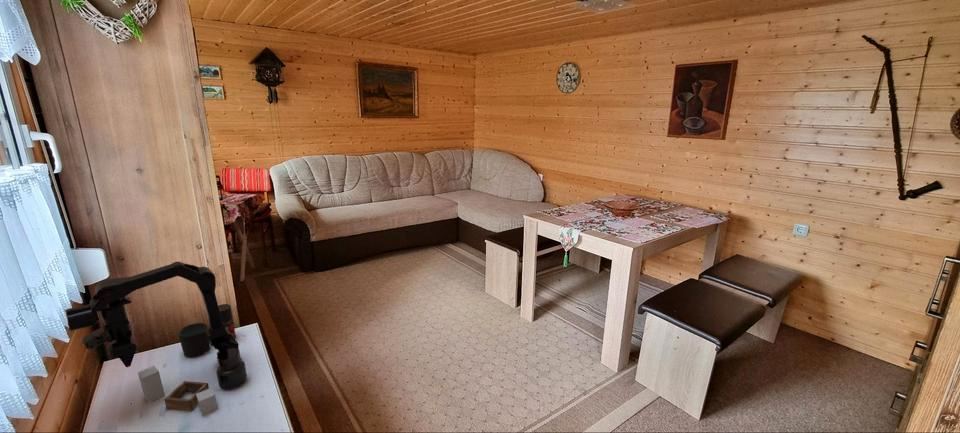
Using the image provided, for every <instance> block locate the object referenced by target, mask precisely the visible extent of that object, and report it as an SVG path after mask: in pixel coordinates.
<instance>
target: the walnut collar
mask: <svg viewBox="0 0 960 433" xmlns="http://www.w3.org/2000/svg"><path fill="white" fill-rule="evenodd" d="M209 388H210V386H209V383H208V382H200V381H190V380H189V381H188V380H183V382H181V384H179V385H178V386H177V387H176V388H175V389H174V390H172V392H170V393H169V394H168V395H167V396H166V397H164V398H163V401H164V404H165V409H166V410H174V411H175V410H176V411H185V412H192V411H193V410H194V409H195V408H196V407H198V401H197V397H196V394H197V393H200V392H202V391H204V390H207V389H209ZM187 393H192V395H191V396H190V397H189V398H183V397H184V396H185V395H186V394H187Z"/></svg>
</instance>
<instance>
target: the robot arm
mask: <svg viewBox="0 0 960 433" xmlns="http://www.w3.org/2000/svg"><path fill="white" fill-rule="evenodd" d="M176 277H179V278H183V279H185V280H186V281H189V282H191V283H194V284H196V286H197V288H198V291H200V293H201V296H202V301H203V304H204V307H205V311H206V315H207V318H208V324H209V329H208V330H205V331H206V333H207V339H208V341H209V343H210V347H213V348H214V349H215V350H217V351H218V352H216V356H217V355H218V354H219V353H220V352H222V351H224V350H226V349H230V348H236V349H238V350H239V351H240V349H239V346H240V344H239V342H238V341H237V339H235V338H234V336H233V335H232V334H229V333H227V331H226V329H225V327H224V326H223V323H222V319H221V315H220V311H219V307H218V306H219V305H218V300H217V296H216V287H217V283H216V282H217V281H216V280H217V279H216V276H215V274H214V273H213V271H212V270H211V269H210V268H209V267H207V266H200V267H199V266H197V265H194V264H189V263H183V262H182V261H175V262H171V264H167V265H164V266H160V267H158V268H154V269H150V270H148V271H144V272H141V273H139V274H135V275H132V276H127V277H115V278H110V279H109V278H107V279H105V280H104V279H103V280H102V281H100V282H99V283H97V284H96V285H95V287H94V288H95V289H94V292H95V293H94V295H93V296H92V297H91V298H90V300H89V304H86V305H82V306H78V307H77V306H76V307H71V308H67V309H65V314H66V317H67V326H68V328H69V331H70V332H74V331H79V330H81V329H85V328H88V327H92V326H96V324H98V321H101V320H100V315H101V318H102V321H103V322H102V327H99V328H97V329H95V330H94V331H92V332H90V333H88V334H86V335H85V336H84V337H82V345H83V346H84V347H85V349H88V350H89V351H93V350H95V349H96V348H97V347H99V346H101V345H102V344H104V343H106V342H107V344H109V343H111V342H114V343H111V344H110V346H109V347H108V349H109V354H110V358H113V359H114V358H115V359H116V358H119V360H120V361H121V363H122V364H123V365H124V366H125V367H126V368H129V367H131V365H132V364H133V359H134V357H135V354H136V351H137V350H138V346H137V344H136V341H135V339H134V338H131V337H132V336H133V330H132V326H131V321H130V320H129V318H128V317H129V316H128V314H127V310H126V306H125V305H130V304H131V303H132V299H131V297H130V296H129V295H130V294H131V293H133V292H135V291H137V290H139V289H143V288H146V287H149V286H152V285H154V284H158V283H161V282H164V281H166V280H169V279H172V278H176ZM99 312H100V315H99ZM240 359H241V360H242V357H241V356H240ZM242 361H243V360H242Z"/></svg>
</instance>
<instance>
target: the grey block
mask: <svg viewBox="0 0 960 433" xmlns="http://www.w3.org/2000/svg"><path fill="white" fill-rule="evenodd" d="M196 397H197V401H198V405H197V407H198V408H199V412H200V414H201V415H202V416H203V415H206V414H208V413H211V412H212V411H214V410H216V408H217V409H219V406H218V402H217V397H216V393H215V391H214V389H213V387H209V389H207V390H204V391H202V392H200V393H197V394H196Z"/></svg>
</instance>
